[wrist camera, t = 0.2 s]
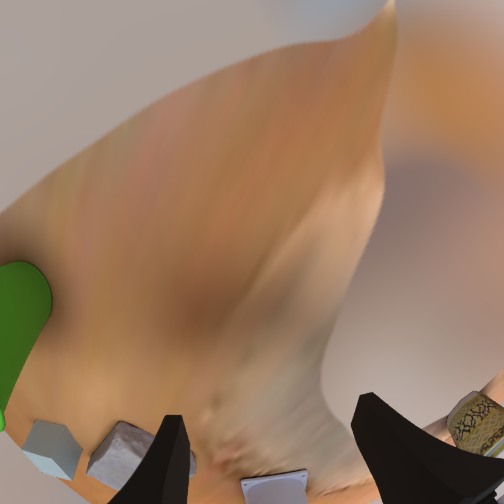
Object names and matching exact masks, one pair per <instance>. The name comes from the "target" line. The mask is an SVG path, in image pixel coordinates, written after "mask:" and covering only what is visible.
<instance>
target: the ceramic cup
mask: <svg viewBox="0 0 504 504" xmlns="http://www.w3.org/2000/svg"><path fill="white" fill-rule="evenodd" d="M447 427H448V430H449V432H450V434H451V436H452V438H453V441H454V443H455V445H456V447H457V448H460V449H462V450H465V451H468V452H471V453H475V454H479V455H483V456H488V457H495V458H497V457H498V456H499V455H500V454H501V453H502V452H503V451H504V408H503V407H502V406H500V405H499V404H498V403H496V402H495V401H493V400H492V399H490V398H489V397H487V396H486V395H484V394H483V393H481V392H477V391H472V392H471V393H469V394H468V395H467V396H465V397H464V398H463V399H461V400H460V401H459V403H458V404H457V405H456V406H455V407H454V408H453V410H452V411H451V412H450V413H449V415H448V419H447Z"/></svg>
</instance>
